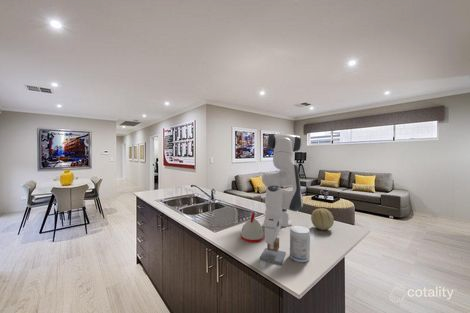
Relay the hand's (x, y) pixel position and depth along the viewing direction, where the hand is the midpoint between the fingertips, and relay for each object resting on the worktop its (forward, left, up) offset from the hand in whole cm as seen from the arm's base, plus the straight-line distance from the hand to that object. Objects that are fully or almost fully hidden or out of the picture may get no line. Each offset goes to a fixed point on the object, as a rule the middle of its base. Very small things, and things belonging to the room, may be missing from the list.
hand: (273, 245), depth 102 cm
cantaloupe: (-52, +23, -6) cm, 57 cm away
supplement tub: (-5, +12, -6) cm, 15 cm away
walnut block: (0, 0, -2) cm, 2 cm away
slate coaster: (0, 0, -6) cm, 6 cm away
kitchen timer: (-18, -17, -6) cm, 26 cm away
